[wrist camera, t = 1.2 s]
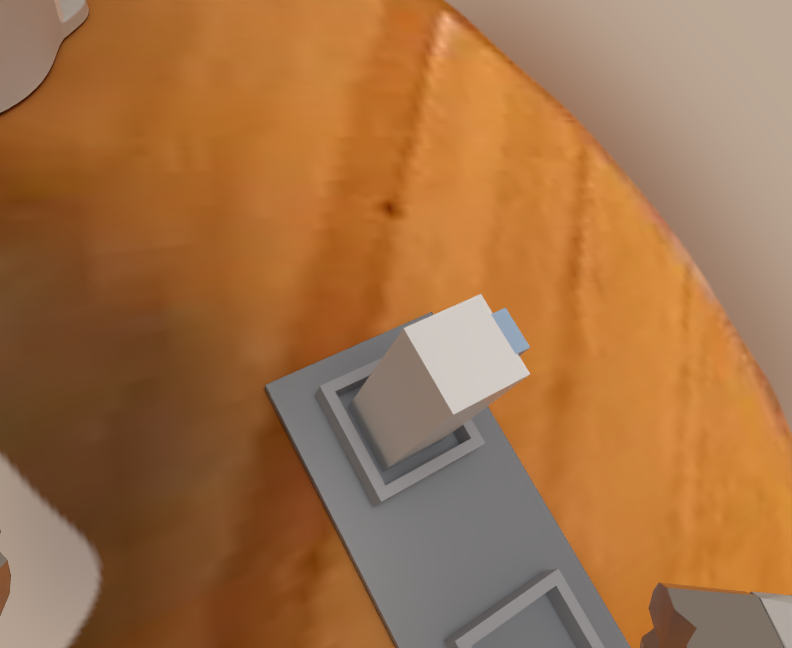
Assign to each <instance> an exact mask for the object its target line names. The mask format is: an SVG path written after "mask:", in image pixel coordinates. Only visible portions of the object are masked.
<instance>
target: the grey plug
mask: <svg viewBox="0 0 792 648" xmlns="http://www.w3.org/2000/svg"><path fill="white" fill-rule="evenodd" d="M529 348H530V346H529V345H528V343H527V341H526V340H525V338H524V337H523V335H522V333H521V332H520V330H519V329H518V327H517V325H516V324H515V322H514V321H513V319H512V317H511V316H510V314H509V313H508V311H507V309H506V308H504V309H502V310H500V311H497V312H495V313H492V311H491V310H490V308H489V306H488V305H487V303H486V302H485V300H484V298H483V297H482V295H481V294H480V295H477V296H475V297H473V298H471V299H468V300H466V301H464V302H462V303H459V304H457V305H455V306H452V307H450V308H448V309H446V310H443V311H441V312H439V313H437V314H434V315H432V316H430V317H428V318H425V319H423V320H421V321H419V322H416V323H414V324H412V325H409V326H407V327H405V328H403V330H402V331H401V332H400V334H399V335H398V337H397V338H396V340H395V341H394V342H393V344H392V345H391V347H390V348H389V349H388V351H387V352H386V354H385V355H384V356H383V358H382V359H381V361H380V362H379V364H378V365H377V366H376V368H375V369H374V371H373V372H372V373H371V375H370V376H369V378H368V379H367V380H366V382H365V383H364V385H363V386H362V388H361V389H360V390H359V392H358V393H357V395H356V396H355V397H354V399H353V400H352V402H351V403H350V405H349V406H348V408H349V409H350V411H351V413H352V415H353V417H354V419H355V421H356V423H357V424H358V426H359V428H360V430H361V432H362V434H363V436H364V437H365V439H366V441H367V443H368V445H369V447H370V449H371V451H372V452H373V454H374V456H375V458H376V460H377V462H378V464H379V465H380V467H381V469H382V471H383V472H384V471H386V470H388V469H390V468H391V467H393V466H395V465H397V464H399V463H401V462H402V461H404V460H406V459H408V458H410V457H412V456H414V455H415V454H417V453H419V452H421V451H423V450H425V449H427V448H428V447H430V446H432V445H434V444H436V443H438V442H439V441H441V440H443V439H445V438H446V437H447V436H449V435H450V434H451V433H453V432H454V431H455V430H457V429H458V428H459V427H461V426H462V425H463V424H465V423H466V422H467V421H469V420H470V419H471V418H473V417H474V416H475V415H477V414H478V413H479V412H481V411H482V410H483V409H485V408H486V407H487V406H489V405H490V404H491V403H493V402H494V401H495V400H497V399H498V398H499V397H501V396H502V395H503V394H505V393H506V392H507V391H509V390H510V389H511V388H513V387H514V386H515V385H517V384H518V383H519V382H521V381H522V380H523V379H525V378H526V377H527V376H529V375H530V373H529V371H528V370H527V368H526V366H525V365H524V363H523V362H522V360H521V358H520V357H519V356H520V355H522V354H523V353H524V352H525V351H526V350H528V349H529Z"/></svg>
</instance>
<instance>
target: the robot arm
mask: <svg viewBox="0 0 792 648" xmlns="http://www.w3.org/2000/svg"><path fill="white" fill-rule="evenodd" d="M88 14H89V8H88V4H87V1H86V0H0V113H1V112H3V111H5V110H7V109H9V108H10V107H12V106H14V105H15V104H17V103H18V102H20V101H21V100H23V99H24V98H25V97H27V96H28V95H29V94H30V93H31V92H32V91H34V90H35V89H36V88H37V87H38V85H39V84H40V83H41V82H42V81H43V79H44V78H45V77H46V75H47V74H48V72H49V70H50V69H51V66H52V64H53V62H54V59H55V57H56V54H57V51H58V48H59V46H60V44H61V42H62V41H63V39H64V38H65V37H66V36H68V35H69V34H70V33H71V32H72V31H74V30H75V29H76V28H77V27H78V26H79V25H80V24H82V23H83V21H84V20H85V19H86V18H87V16H88ZM0 532H1V531H0ZM10 581H11V574H10V569H9V565H8V560H7V559H6V558H5V557H4V556H3V555H2V554H1V553H0V615H1V613H2V610H3V608H4V606H5V603H6V601H7V598H8V596H9V592H10ZM649 611H650V615H651V618H652V622H653V625H654V629H652V630H651V631H650V632H648V633H647V634H646V635H644V636H643V637H642V639H641V644H640V648H792V596H791V595H781V594H771V593H760V592H750V593H748V592H743V591H734V590H724V589H715V588H706V587H696V586H687V585H677V584H668V583H658V585H657V586H656V588H655V589H654V591H653V594H652V598H651V602H650V605H649Z"/></svg>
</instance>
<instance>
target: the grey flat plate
mask: <svg viewBox="0 0 792 648" xmlns="http://www.w3.org/2000/svg"><path fill="white" fill-rule="evenodd" d="M432 315H433V313H432V312H431V313H428V314H426V315H424V316H421V317H419V318H417V319H415V320H412V321H410V322H408V323H406V324H403V325H401V326H399V327H396V328H394V329H392V330H390V331H387V332H385V333H383V334H380V335H378V336H376V337H374V338H371V339H369V340H367V341H364V342H362V343H360V344H358V345H355V346H353V347H351V348H349V349H346V350H344V351H342V352H339V353H337V354H335V355H333V356H330V357H328V358H326V359H323V360H321V361H319V362H317V363H314V364H312V365H310V366H307V367H305V368H303V369H301V370H298V371H296V372H294V373H292V374H289V375H287V376H285V377H282V378H280V379H278V380H276V381H273V382H271V383H269V384H266V385H265V388H264V389H265V391H266V393H267V394H268V396H269V398H270V400H271V402H272V404H273V406H274V408H275V410H276V412H277V414H278V416H279V418H280V420H281V422H282V424H283V426H284V428H285V430H286V432H287V434H288V436H289V438H290V440H291V442H292V444H293V446H294V448H295V450H296V452H297V454H298V456H299V458H300V460H301V462H302V464H303V465H304V467H305V469H306V471H307V473H308V475H309V477H310V479H311V481H312V483H313V485H314V487H315V489H316V491H317V493H318V495H319V497H320V499H321V501H322V503H323V505H324V507H325V509H326V511H327V513H328V515H329V517H330V519H331V521H332V523H333V525H334V527H335V529H336V531H337V533H338V535H339V536H340V538H341V540H342V542H343V544H344V546H345V548H346V550H347V552H348V554H349V556H350V558H351V560H352V562H353V564H354V566H355V568H356V570H357V572H358V574H359V576H360V578H361V580H362V582H363V584H364V586H365V588H366V590H367V592H368V594H369V596H370V598H371V600H372V602H373V604H374V606H375V607H376V609H377V611H378V613H379V615H380V617H381V619H382V621H383V623H384V625H385V627H386V629H387V631H388V633H389V635H390V637H391V639H392V641H393V643H394V645H395V647H396V648H631V647H630V646H629V644H628V642H627V641H626V639H625V637H624V636H623V634H622V632H621V631H620V629H619V627H618V626H617V624H616V622H615V620H614V619H613V617H612V615H611V614H610V612H609V610H608V609H607V607H606V605H605V604H604V602H603V600H602V598H601V597H600V595H599V593H598V592H597V590H596V588H595V587H594V585H593V583H592V582H591V580H590V578H589V577H588V575H587V573H586V571H585V570H584V568H583V566H582V565H581V563H580V561H579V560H578V558H577V556H576V555H575V553H574V551H573V550H572V548H571V546H570V544H569V543H568V541H567V539H566V538H565V536H564V534H563V533H562V531H561V529H560V528H559V526H558V524H557V522H556V521H555V519H554V517H553V516H552V514H551V512H550V511H549V509H548V507H547V506H546V504H545V502H544V501H543V499H542V497H541V495H540V494H539V492H538V490H537V489H536V487H535V485H534V484H533V482H532V480H531V479H530V477H529V475H528V474H527V472H526V470H525V468H524V467H523V465H522V463H521V462H520V460H519V458H518V457H517V455H516V453H515V452H514V450H513V448H512V446H511V445H510V443H509V441H508V440H507V438H506V436H505V435H504V433H503V431H502V430H501V428H500V426H499V425H498V423H497V421H496V419H495V418H494V416H493V414H492V413H491V411H490V409H489V408H488V406H487V407H486V408H485V409H483V410H482V411H481V412H479V413H478V414H477V415H475V416H474V417H473V418H471V419H470V420H469V421H467V422H466V423H465V424H463V425H462V426H461V427H459V428H458V429H457V430H455V431H454V432H453V433H451V434H450V435H449V436H447V437H446V438H445V439H443V440H441V441H439V442H438V443H436V444H434V445H432V446H430V447H428V448H427V449H425V450H423V451H421V452H419V453H417V454H415V455H414V456H412V457H410V458H408V459H406V460H404V461H402V462H401V463H399V464H397V465H395V466H393V467H391V468H390V469H388V470H386V471H384V472H383V471H382V469H381V467H380V465H379V464H378V462H377V460H376V458H375V456H374V454H373V452H372V451H371V449H370V447H369V445H368V443H367V441H366V439H365V437H364V436H363V434H362V432H361V430H360V428H359V426H358V424H357V423H356V421H355V419H354V417H353V415H352V413H351V411H350V409H349V408H348V406H349V405H350V403H351V402H352V400H353V399H354V397H355V396H356V395H357V393H358V392H359V390H360V389H361V388H362V386H363V385H364V383H365V382H366V380H367V379H368V378H369V376H370V375H371V373H372V372H373V371H374V369H375V368H376V366H377V365H378V364H379V362H380V361H381V359H382V358H383V356H384V355H385V354H386V352H387V351H388V349H389V348H390V347H391V345H392V344H393V342H394V341H395V340H396V338H397V337H398V335H399V334H400V332H401V331H402V330H403V328H405V327H407V326H409V325H412V324H414V323H416V322H419V321H421V320H423V319H425V318H428V317H430V316H432Z"/></svg>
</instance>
